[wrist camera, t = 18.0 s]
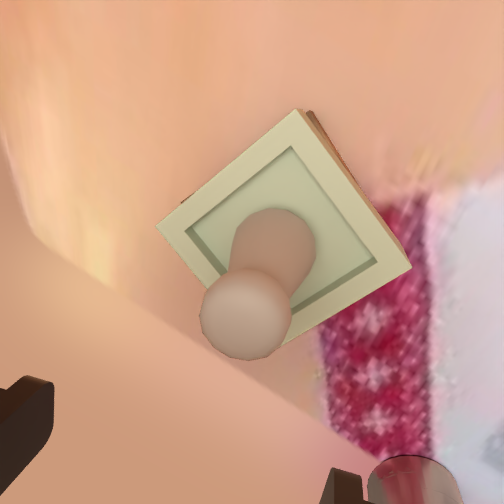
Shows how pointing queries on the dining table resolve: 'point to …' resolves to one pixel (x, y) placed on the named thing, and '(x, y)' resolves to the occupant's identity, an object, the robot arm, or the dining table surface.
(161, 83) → the dining table surface
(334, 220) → the top block
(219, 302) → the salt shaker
